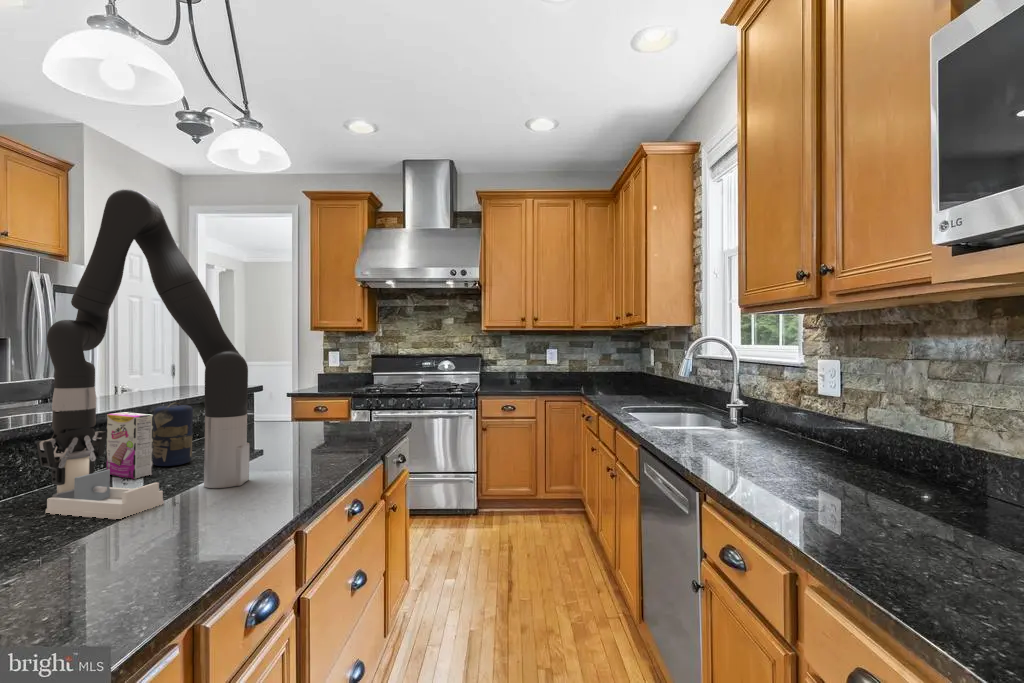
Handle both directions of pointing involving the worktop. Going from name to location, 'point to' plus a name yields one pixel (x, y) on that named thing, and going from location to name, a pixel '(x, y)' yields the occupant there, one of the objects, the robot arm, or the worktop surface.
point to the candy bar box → (129, 444)
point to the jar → (74, 469)
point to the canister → (172, 435)
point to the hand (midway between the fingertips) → (73, 480)
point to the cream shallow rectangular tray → (107, 503)
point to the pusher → (93, 486)
